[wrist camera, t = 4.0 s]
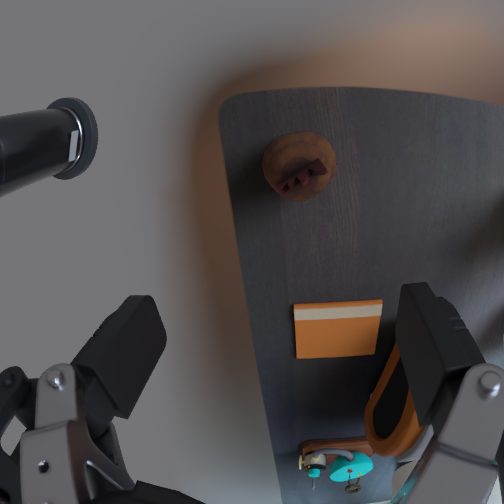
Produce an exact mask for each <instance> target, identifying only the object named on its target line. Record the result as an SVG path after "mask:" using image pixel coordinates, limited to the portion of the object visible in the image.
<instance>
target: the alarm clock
mask: <svg viewBox="0 0 504 504" xmlns="http://www.w3.org/2000/svg"><path fill="white" fill-rule="evenodd" d="M364 424H365V433H366V437H367V440H368V443H369V445H370V447H371V449H372V450H373V452H374V453H375V454H378V455H380V456H396V457H397V462H406V461H413V460H419V459H420V457H421V455H422V454H423V452H424V450H425V448H426V446H427V445H428V443H429V441H430V439H431V437H432V436H433V434H434V432H433V428H432V425H429V426H424V427H419V424H418V420H417V415H416V411H415V407H414V403H413V399H412V395H411V391H410V388H409V384H408V380H407V377H406V373H405V370H404V366H403V363H402V359H401V356H400V353H399V350H398V346H397V343H395V345H394V348H393V350H392V352H391V355H390V357H389V359H388V362H387V364H386V366H385V368H384V371H383V373H382V375H381V377H380V379H379V381H378V383H377V385H376V387H375V389H374V391H373V393H371V395H370V399H369V401H368V403H367V405H366V407H365V412H364Z"/></svg>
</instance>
